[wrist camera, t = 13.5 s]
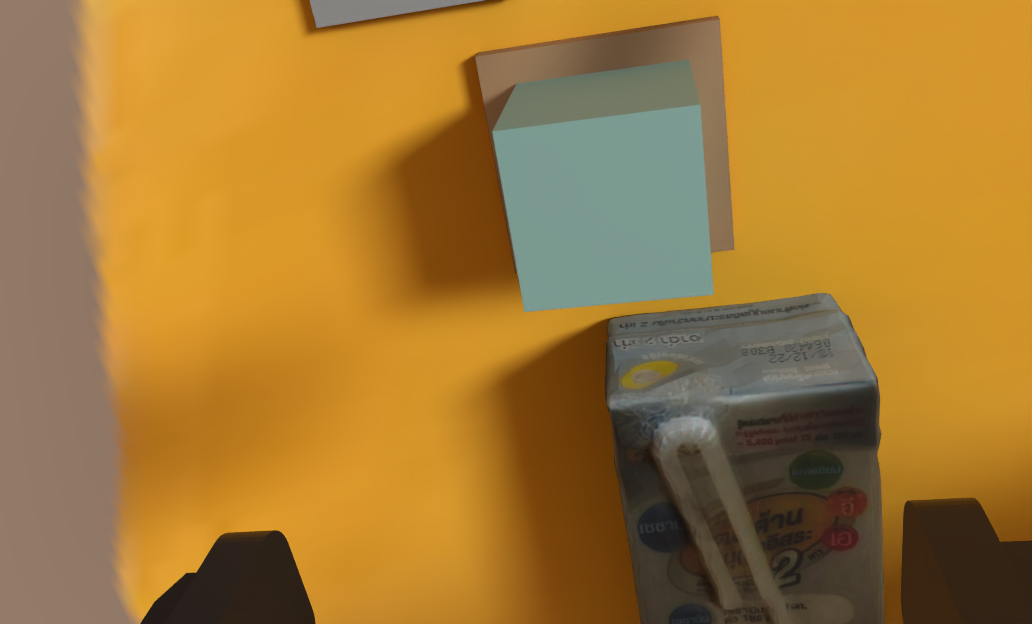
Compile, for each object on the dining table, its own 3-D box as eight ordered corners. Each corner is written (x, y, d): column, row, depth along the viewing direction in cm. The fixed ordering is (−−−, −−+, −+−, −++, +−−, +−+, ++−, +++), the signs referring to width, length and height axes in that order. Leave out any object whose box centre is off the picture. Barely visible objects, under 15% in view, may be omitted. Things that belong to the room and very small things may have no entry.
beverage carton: (847, 280, 28) (901, 391, 23) (856, 688, 37) (898, 845, 31) (602, 307, 30) (595, 419, 24) (665, 693, 38) (671, 844, 33)
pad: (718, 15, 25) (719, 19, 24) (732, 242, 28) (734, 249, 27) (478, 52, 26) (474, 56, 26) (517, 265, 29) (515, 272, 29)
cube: (688, 59, 25) (700, 104, 21) (700, 222, 27) (713, 294, 23) (516, 83, 26) (492, 131, 21) (541, 239, 28) (524, 312, 24)
